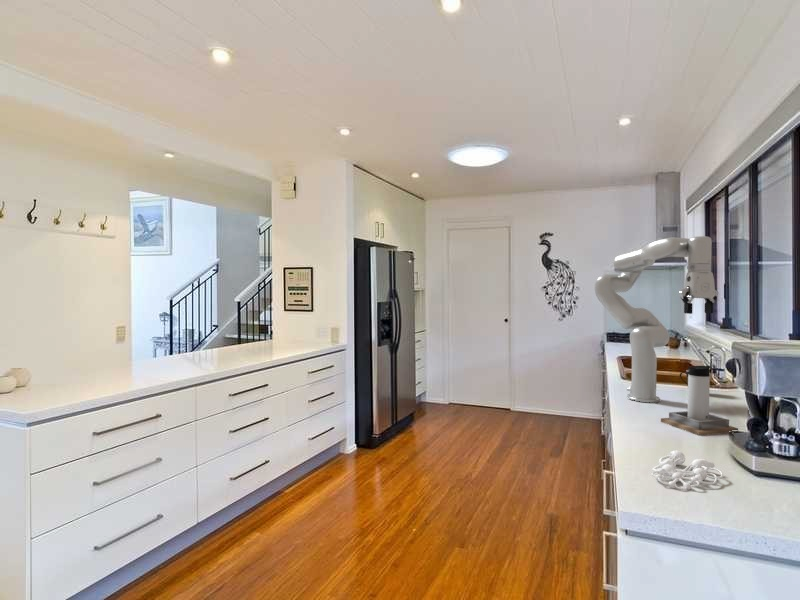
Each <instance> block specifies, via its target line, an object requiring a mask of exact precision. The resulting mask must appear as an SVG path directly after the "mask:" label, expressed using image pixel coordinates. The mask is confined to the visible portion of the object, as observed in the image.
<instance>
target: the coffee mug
mask: <svg viewBox="0 0 800 600" xmlns="http://www.w3.org/2000/svg"><path fill="white" fill-rule="evenodd" d="M683 374H685V375H686V381H685V380H684V379H683V377H682V375H683ZM688 374H689V369H686V370H685V371H682V372H680V374H679V378H680V379H681V381H682V382H683V383H684V384H685V385H686V386H688Z"/></svg>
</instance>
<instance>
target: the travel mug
mask: <svg viewBox="0 0 800 600" xmlns="http://www.w3.org/2000/svg"><path fill="white" fill-rule="evenodd" d="M711 369H712V366H711V365H691V366H689V367H688V370H689V374H688V385H687V411H688V418H691V419H694V420H697V421H705V420H709V414H710V389H711V388H710V386H711V385H710V382H711V381H710V380H711V378H710V377H711V376H710V372H711V371H710V370H711Z"/></svg>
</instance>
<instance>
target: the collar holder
mask: <svg viewBox="0 0 800 600" xmlns="http://www.w3.org/2000/svg"><path fill="white" fill-rule="evenodd" d="M660 423H662V424H666V425H668V424H669V426H671V425H672V426H671V427H675V428H677V429H680V430H682V429H683V431H685V430H686V432H688V433H691V434H695V435H696V434H697V436H705V435H707V434H709V435H717V434H718V433H720V434H727V433H728V434H730V433H729V431H732V430H738V431H739V428H738V427H734V426H732V425H730V419H728V418H724V417H720V416H718V415H714V414H711V413H709V420H705V421H697V420H694V419H691V418H688V410H687V411H686V410H685V411H671V412H670V411H669V412H668V417H661V418H660ZM707 436H708V435H707Z"/></svg>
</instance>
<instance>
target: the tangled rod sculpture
mask: <svg viewBox="0 0 800 600" xmlns="http://www.w3.org/2000/svg"><path fill="white" fill-rule="evenodd" d="M685 462H686V456H685V454H684V453H683V452H682V451H680V450H672V451H670V452H668V454H666V455H665V456H664V455H663V456H662V457H660V458H659V460H658V463H659V464H658V465H655V466H654V467H653V468H651V471H652V472H651V476H652V477H654V478H655V480H656V481H658V482H659V483H661V484H663V485H666V486H668V487H669V488H670V489H677V490H679V491H687V490H689V491H690V490H691V489H692V488H694V487H695V488H696V487H698V486H700V483H701V484H705V485H715V484H717V482H718V479H722V478H724V473H723V472H722V471H721V470H720V469H718V468H715V463H714V462H713V461H710V460H708V459H706V458H696V459H693V461H691V463H690V464H688V466H686V467H685V468H684V469H681V470H680V469H679V470H677V469H676V466H681V465H683V464H685ZM709 470H712V471H716V472H719V473H720V476H717V475H716V474H715V473H712V472H708V471H709ZM655 473H656V474H655ZM657 473H658V474H657ZM688 476H689V477H688ZM690 476H691V477H690ZM707 478H709V479H712V480H713V479H714V481H713V482H712V481H711V482H708V481H705V480H706V479H707ZM663 480H672V481H668V482H664V481H663ZM685 480H686V481H690V482H691V484H690V483H689V482H685ZM678 482H680V483H681V484H682V486H683V488H682V487H679V486H678V485H677V484H676V483H678Z"/></svg>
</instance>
